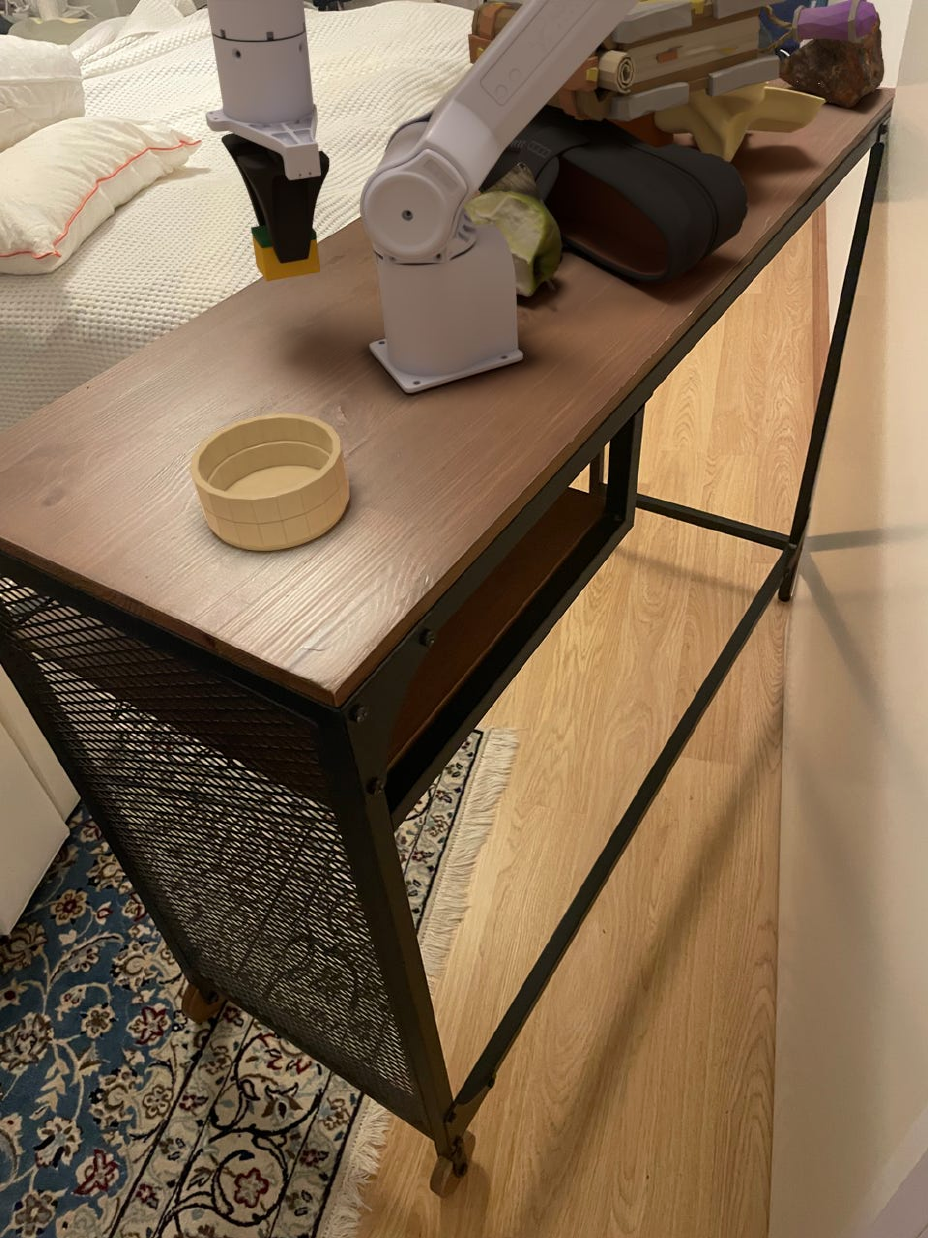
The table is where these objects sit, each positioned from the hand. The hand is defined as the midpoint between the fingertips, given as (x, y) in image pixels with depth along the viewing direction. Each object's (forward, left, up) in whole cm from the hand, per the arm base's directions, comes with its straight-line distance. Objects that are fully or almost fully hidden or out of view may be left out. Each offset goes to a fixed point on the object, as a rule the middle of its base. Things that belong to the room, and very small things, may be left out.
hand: (286, 250), depth 67 cm
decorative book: (-38, -1, 0) cm, 38 cm away
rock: (-67, -26, -7) cm, 72 cm away
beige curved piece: (-49, -18, -3) cm, 53 cm away
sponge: (0, 0, -1) cm, 1 cm away
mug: (-44, -27, -9) cm, 52 cm away
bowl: (+7, +17, -9) cm, 21 cm away
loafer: (-33, -9, -4) cm, 34 cm away
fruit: (-21, -5, -3) cm, 22 cm away
